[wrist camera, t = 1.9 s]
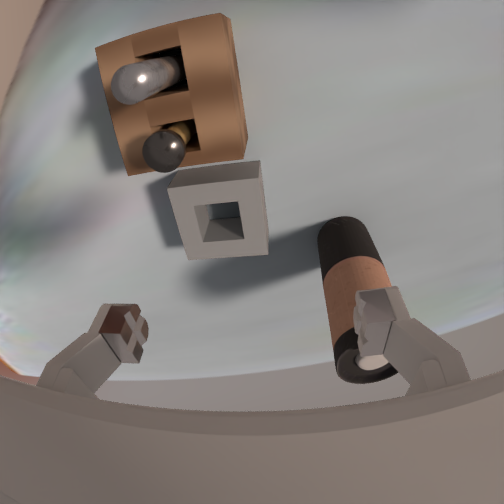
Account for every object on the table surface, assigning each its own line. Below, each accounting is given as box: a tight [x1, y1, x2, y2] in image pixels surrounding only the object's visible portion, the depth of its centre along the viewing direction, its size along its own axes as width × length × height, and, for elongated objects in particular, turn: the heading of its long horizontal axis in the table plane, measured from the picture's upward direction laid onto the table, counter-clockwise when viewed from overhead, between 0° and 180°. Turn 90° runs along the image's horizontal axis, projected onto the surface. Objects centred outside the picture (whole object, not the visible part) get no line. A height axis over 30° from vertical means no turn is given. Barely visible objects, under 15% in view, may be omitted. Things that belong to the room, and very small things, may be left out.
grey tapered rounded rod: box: [111, 54, 187, 105], centre depth 23 cm, size 3×3×14 cm
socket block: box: [95, 13, 248, 176], centre depth 28 cm, size 14×12×7 cm
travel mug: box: [318, 217, 398, 384], centre depth 34 cm, size 8×8×20 cm
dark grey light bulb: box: [142, 119, 196, 173], centre depth 27 cm, size 4×4×8 cm
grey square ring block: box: [167, 161, 269, 260], centre depth 37 cm, size 10×10×5 cm
